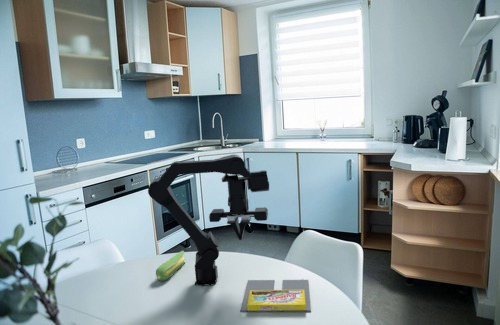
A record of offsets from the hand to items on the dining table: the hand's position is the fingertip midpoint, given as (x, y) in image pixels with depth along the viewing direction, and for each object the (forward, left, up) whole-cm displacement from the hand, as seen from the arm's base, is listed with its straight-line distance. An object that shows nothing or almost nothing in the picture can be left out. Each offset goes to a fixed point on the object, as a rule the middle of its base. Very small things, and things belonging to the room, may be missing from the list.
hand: (240, 239), depth 122 cm
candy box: (+12, -13, -11) cm, 21 cm away
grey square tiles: (+12, -12, -13) cm, 22 cm away
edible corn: (-26, +5, -14) cm, 30 cm away
